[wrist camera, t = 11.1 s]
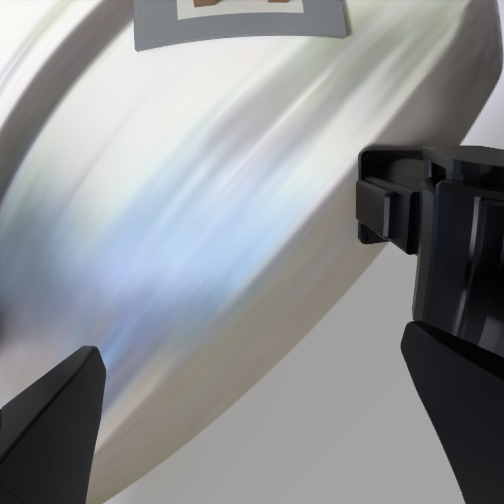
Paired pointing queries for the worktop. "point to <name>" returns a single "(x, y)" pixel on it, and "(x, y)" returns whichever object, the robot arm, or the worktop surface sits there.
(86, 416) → the robot arm
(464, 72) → the worktop surface
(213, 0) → the oak stool
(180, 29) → the charcoal mat
